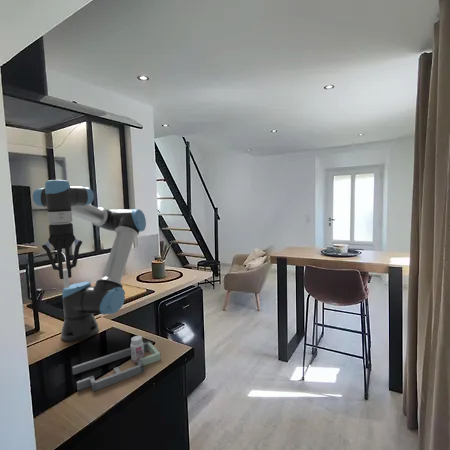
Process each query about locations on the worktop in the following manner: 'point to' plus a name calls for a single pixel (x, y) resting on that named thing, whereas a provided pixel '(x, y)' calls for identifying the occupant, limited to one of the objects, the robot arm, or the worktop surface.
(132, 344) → the pill bottle
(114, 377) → the channel
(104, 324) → the worktop surface
